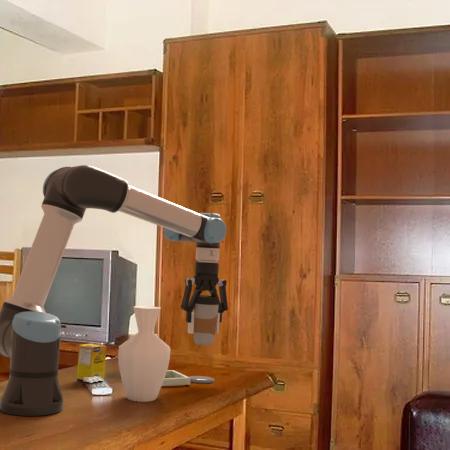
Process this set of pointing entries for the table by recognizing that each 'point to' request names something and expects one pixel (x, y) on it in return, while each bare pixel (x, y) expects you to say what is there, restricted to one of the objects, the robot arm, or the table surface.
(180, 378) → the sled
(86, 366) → the supplement box
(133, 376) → the vase
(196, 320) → the coffee cup
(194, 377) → the coaster
